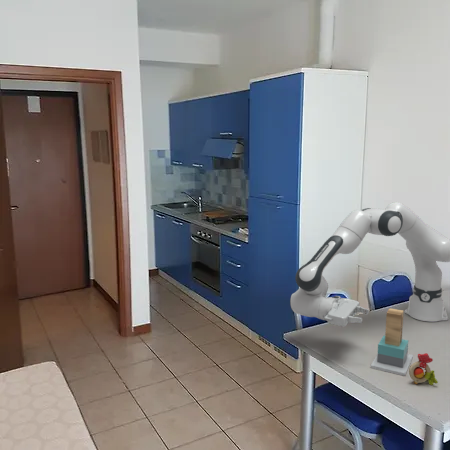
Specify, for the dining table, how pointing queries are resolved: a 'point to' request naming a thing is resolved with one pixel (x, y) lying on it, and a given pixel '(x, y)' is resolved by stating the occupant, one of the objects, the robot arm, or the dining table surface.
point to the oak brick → (394, 327)
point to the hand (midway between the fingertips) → (365, 316)
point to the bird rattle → (418, 372)
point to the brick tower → (392, 357)
